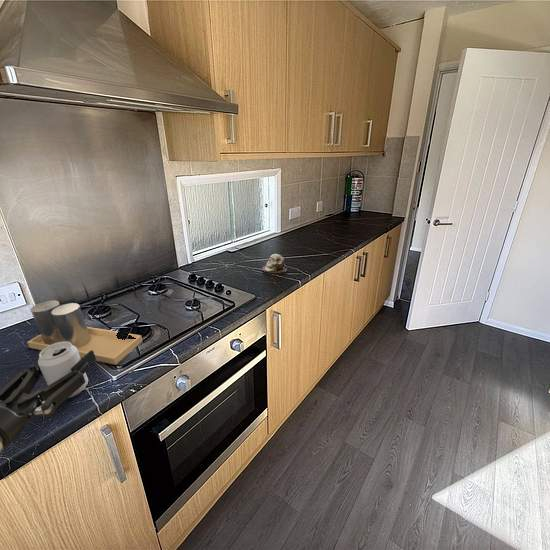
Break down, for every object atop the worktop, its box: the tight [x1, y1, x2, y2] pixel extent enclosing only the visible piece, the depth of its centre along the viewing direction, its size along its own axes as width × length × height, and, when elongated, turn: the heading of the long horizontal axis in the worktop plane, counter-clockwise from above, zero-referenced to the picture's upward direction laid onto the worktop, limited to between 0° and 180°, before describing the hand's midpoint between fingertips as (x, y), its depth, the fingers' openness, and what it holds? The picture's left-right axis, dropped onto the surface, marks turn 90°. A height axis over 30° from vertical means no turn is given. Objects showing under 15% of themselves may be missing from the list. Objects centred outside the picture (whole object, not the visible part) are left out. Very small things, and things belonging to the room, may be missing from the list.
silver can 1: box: [30, 299, 62, 345], centre depth 91 cm, size 7×7×12 cm
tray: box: [26, 326, 143, 366], centre depth 90 cm, size 32×11×2 cm, turn 74°
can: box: [37, 342, 89, 399], centre depth 68 cm, size 8×8×12 cm
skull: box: [261, 253, 288, 275], centre depth 142 cm, size 12×10×10 cm
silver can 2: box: [51, 302, 90, 348], centre depth 89 cm, size 7×7×12 cm
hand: (77, 354), depth 73 cm, fingers closed on can, 7 cm apart
